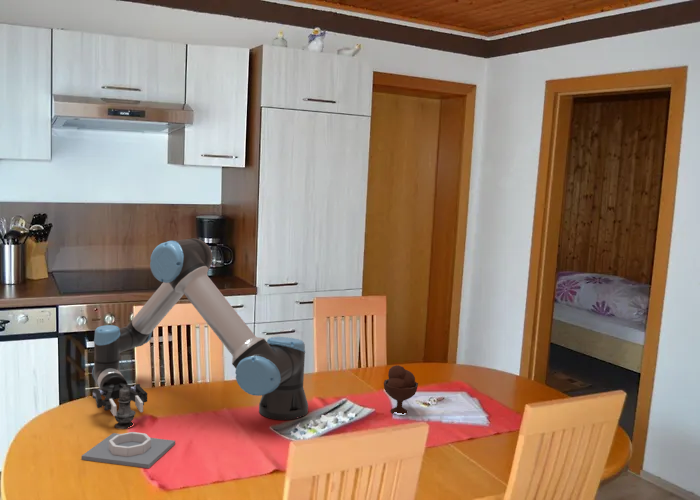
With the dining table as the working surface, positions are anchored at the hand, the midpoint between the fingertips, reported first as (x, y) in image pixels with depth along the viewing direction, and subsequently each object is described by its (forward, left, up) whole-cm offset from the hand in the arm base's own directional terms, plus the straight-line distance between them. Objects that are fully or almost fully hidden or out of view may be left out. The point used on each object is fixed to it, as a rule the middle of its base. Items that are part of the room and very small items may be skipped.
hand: (128, 409), depth 182 cm
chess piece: (+3, -4, -7) cm, 8 cm away
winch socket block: (-7, +12, -6) cm, 15 cm away
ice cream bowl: (-72, -38, -7) cm, 81 cm away
